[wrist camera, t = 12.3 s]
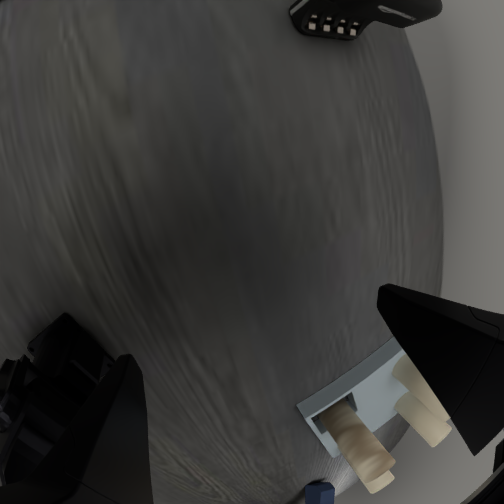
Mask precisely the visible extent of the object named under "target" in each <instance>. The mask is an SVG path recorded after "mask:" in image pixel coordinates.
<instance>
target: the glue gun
mask: <svg viewBox="0 0 504 504" xmlns="http://www.w3.org/2000/svg"><path fill="white" fill-rule="evenodd" d="M334 494H335V488H334V487H333V485H332V484H331V483H330V482H319V483H314V484H310V485H306V486H305V504H334Z"/></svg>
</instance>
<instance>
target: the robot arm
mask: <svg viewBox="0 0 504 504" xmlns="http://www.w3.org/2000/svg"><path fill="white" fill-rule="evenodd" d="M377 308H378V311H379V312H380V314H381V316H382V317H383V319H384V321H385V322H386V324H387V326H388V327H389V329H390V331H391V332H392V334H393V336H394V337H395V339H396V340H397V342H398V343H399V345H400V346H401V347H402V349H403V350H404V351H405V353H406V354H407V356H408V357H409V358H410V360H411V361H412V362H413V364H414V365H415V367H416V368H417V370H418V371H419V372H420V374H421V375H422V377H423V378H424V379H425V381H426V382H427V384H428V385H429V387H430V388H431V390H432V391H433V393H434V394H435V396H436V397H437V399H438V400H439V402H440V403H441V405H442V406H443V408H444V409H445V411H446V412H447V414H448V415H449V417H451V418H450V419H451V420H452V422H453V423H454V425H455V426H456V428H457V430H458V431H459V433H460V435H461V436H462V438H463V439H464V441H465V443H466V444H467V446H468V448H469V449H470V451H471V453H472V454H473V455H474V456H475V455H477V454H478V453H479V452H480V451H481V450H482V449H483V448H484V447H485V446H486V445H487V444H488V443H489V442H490V441H491V440H492V439H493V438H494V437H495V436H496V435H497V434H498V433H499V432H500V431H501V430H502V429H503V431H504V314H499V313H494V312H490V311H485V310H482V309H478V308H474V307H471V306H467V305H464V304H460V303H457V302H453V301H450V300H446V299H443V298H439V297H436V296H432V295H429V294H425V293H422V292H418V291H415V290H411V289H407V288H404V287H400V286H397V285H393V284H389V283H388V284H385V285H382V286H380V287H379V290H378V298H377ZM64 319H67V321H65V320H64ZM32 348H33V349H32ZM27 349H28V351H29V352H30V353H31V354H32V355H33V356H34V360H33V362H32V363H31V362H30V359H29V358H28V357H27V356H26V355H25V354H24V355H23V356H22V357H21V358H20V359H18V360H17V361H15V360H14V361H13V360H9V359H6V360H5V361H4V363H3V364H2V366H1V368H0V504H154V503H153V495H152V486H151V475H150V463H149V448H148V423H147V408H146V400H145V392H144V383H143V375H142V371H141V369H140V367H139V366H138V364H137V362H136V361H135V359H134V357H133V356H132V355H131V354H126V355H121V356H119V357H118V359H117V360H116V361H114V360H113V359H112V358H111V357H110V356H109V355H108V354H107V353H106V352H105V351H104V349H103V348H101V347H100V346H99V345H98V344H97V343H96V342H95V341H94V340H93V339H92V338H91V337H90V336H89V335H88V334H87V333H86V332H85V331H84V330H83V329H82V328H81V327H80V326H79V325H78V324H77V323H76V322H75V321H74V320H73V319H72V318H71V316H70V315H68V314H66V313H64V314H62V315H61V316H60V317H58V318H57V319H56V320H55V321H54V322H53V323H51V324H50V325H49V326H48V327H47V328H46V329H45V330H43V331H42V332H41V333H40V334H39V335H38V336H37V337H36V338H35V339H33V340H32V341H31V342H30V343H29V345H28V347H27ZM108 363H111V364H112V365H110V364H108ZM104 375H105V376H104ZM102 376H104V377H103V378H102V380H101V381H100V378H101V377H102ZM461 504H504V439H503V440H502V441H501V442H500V443H499V444H498V445H497V446H496V451H495V460H494V468H493V474H492V475H491V476H490V477H489V478H488V479H487V480H486V481H485V482H484V483H483V484H482V485H481V486H480V487H479V488H478V489H477V490H476V491H474V492H473V493H472V494H471V495H470V496H469V497H468V498H467V499H465V500H464V501H463V502H462V503H461Z"/></svg>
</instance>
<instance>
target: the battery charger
mask: <svg viewBox="0 0 504 504" xmlns="http://www.w3.org/2000/svg"><path fill="white" fill-rule="evenodd" d="M290 10H291V11H290V14H291V16H292V18H293V21H294V23H295V25H296V27H297V28H298V30H299V31H300V32H302V33H303V34H306V35H312V36H321V37H329V38H336V39H343V40H354V39H356V38H357V37H358V36H359V35H360V34H361V33H362V31H363V30H364V29H365V27H366V26H367V25H369V24H370V23H371V22H373V21H379V22H382V23H385V24H388V25H392V26H395V27H398V28H405V27H408V26H411V25H414V24H417V23H420V22H423V21H425V20H428V19H431V18H433V17H436V16H437V15H438V14H440V12H441V10H442V2H441V0H297V1H296V2H295V3H294V4H293V5H291V7H290Z"/></svg>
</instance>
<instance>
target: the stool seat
mask: <svg viewBox="0 0 504 504" xmlns="http://www.w3.org/2000/svg"><path fill="white" fill-rule="evenodd" d="M346 395H347V397H348V400H347V401H346V402H347V404H348V405H349V406H350V407H351V408H352V410H353V411H354V412H355V413H356V415H357V416H358V417H359V418H360V419H361V421H362V422H363V423H364V424H365V425H366V427H367V428H368V429H369V430H370V431H371V433H372V432H374V431H375V430H376V429H378V428H379V427H380V426H382V425H383V424H384V423H386V422H387V421H388V420H390V419H391V418H392V417H393V416H395V415H396V414H397V413H399V414H400V415H401V416H402V417H403V418H404V419H405V420H406V421H407V422H408V423H409V424H410V425H411V426H412V427H413V428H414V429H415V430H416V431H417V432H418V433H419V434H420V435H421V436H422V437H423V438H424V439H425V440H426V441H427V442H428V443H429V445H431V447H433V448H434V447H435V446H437V445H438V444H439V443H440V442H441V441H442V440H443V439H444V438H445V437H446V436H447V435H448V434H449V432H450V431H451V429H452V428H451V427H450V426H449V425H448V424H447V423H446V421H447V420H448V419H449V418H450V417H449V415H448V414H447V412H446V411H445V409H444V408H443V406H442V405H441V403H440V402H439V400H438V399H437V397H436V396H435V394H434V393H433V391H432V390H431V388H430V387H429V385H428V384H427V382H426V381H425V379H424V378H423V377H422V375H421V374H420V372H419V371H418V370H417V368H416V367H415V365H414V364H413V362H412V361H411V360H410V358H409V357H408V356H407V354H406V353H405V351H404V350H403V349H402V347H401V346H400V345H399V343H398V342H397V340H396V339H395V337H394V336H393V337H392V338H391V339H390V340H389V341H387V342H386V343H385V344H384V345H382V346H381V347H380V348H379V349H377V350H376V351H375V352H374V353H372V354H371V355H370V356H368V357H367V358H366V359H364V360H363V361H362V362H360V363H359V364H358V365H356V366H355V367H353V368H352V369H351V370H349V371H348V372H346V373H345V374H344V375H342V376H341V377H339V378H338V379H336V380H335V381H333V382H332V383H330V384H329V385H327V386H326V387H324V388H323V389H321V390H320V391H318V392H316V393H315V394H313V395H312V396H310V397H308V398H307V399H305V400H303V401H302V402H300V403H298V404H297V405H296V406H297V407H298V409H299V411H300V412H301V414H302V415H303V417H304V418H305V420H306V421H307V423H308V424H309V426H310V427H311V428H312V430H313V431H314V433H315V434H316V435H317V437H318V438H319V439H320V441H321V442H322V444H323V445H324V446H325V448H326V449H327V450H328V452H329V453H330V454H331V456H332V457H333V458H334V457H336V456H338V455H339V454H341V453H342V455H343V456H344V458H345V459H346V460H347V462H348V463H349V465H350V466H351V467H352V469H353V470H354V471H355V473H356V474H357V476H358V477H359V478H360V480H361V481H362V482H363V483H364V485H365V486H366V488H367V489H368V490H369V492H370V493H371V494H373V493H375V492H377V491H379V490H381V489H382V488H383V487H385V486H386V485H388V484H389V483H390V482H392V481H393V480H394V476H393V475H392V474H391V472H390V471H389V470H388V471H386V472H385V473H384V474H383V475H381V476H380V477H378V478H377V479H375V480H373V481H371V482H369V483H365V482H364V481H363V480H362V478H361V477H360V475H359V474H358V473H357V471H356V470H355V469H354V467H353V466H352V464H351V463H350V462H349V460H348V459H347V458H346V456H345V455H344V453H343V452H342V451H341V449H340V448H339V446H338V445H337V444H336V442H335V441H334V439H333V438H332V436H331V435H330V434H329V432H328V431H327V429H326V428H325V426H324V425H323V424H322V422H321V421H320V419H318V420H316V421H314V422H313V421H312V420H311V418H312V417H314V416H315V415H317V414H318V413H320V412H322V411H323V410H325V409H326V408H328V407H330V406H331V405H333V404H334V403H336V402H337V401H339V400H340V399H342V398H343V397H345V396H346Z"/></svg>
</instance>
